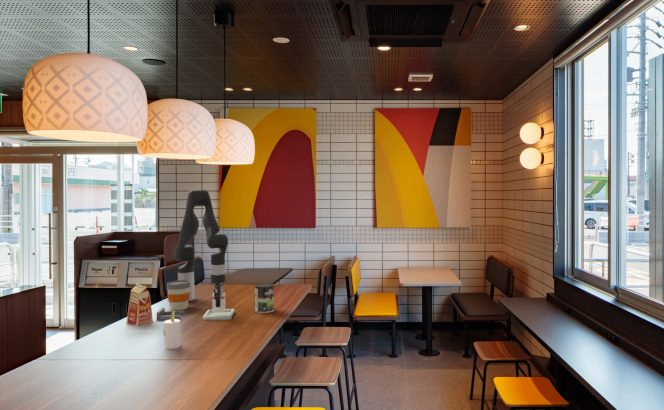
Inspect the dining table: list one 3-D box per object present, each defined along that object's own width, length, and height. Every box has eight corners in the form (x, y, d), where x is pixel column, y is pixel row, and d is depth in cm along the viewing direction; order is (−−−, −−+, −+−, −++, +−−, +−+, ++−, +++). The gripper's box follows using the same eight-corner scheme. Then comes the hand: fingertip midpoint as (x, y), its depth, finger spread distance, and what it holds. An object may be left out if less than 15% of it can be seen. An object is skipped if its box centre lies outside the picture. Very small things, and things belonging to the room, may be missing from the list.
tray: (207, 313, 229) (207, 309, 229) (234, 312, 230) (234, 308, 230) (202, 321, 215) (202, 317, 215) (230, 319, 216) (230, 315, 216)
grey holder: (161, 316, 225) (161, 307, 225) (187, 315, 226) (186, 306, 226) (155, 322, 214) (154, 312, 214) (181, 321, 215) (181, 311, 215)
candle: (164, 344, 180) (163, 309, 180) (180, 342, 182) (179, 307, 182) (163, 349, 174) (163, 313, 174) (180, 347, 177) (180, 311, 176)
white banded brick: (213, 310, 224) (213, 292, 224) (225, 309, 225) (225, 292, 224) (212, 312, 220) (211, 294, 220) (224, 311, 220) (224, 294, 220)
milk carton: (126, 325, 210) (125, 284, 209) (142, 320, 218) (141, 281, 218) (138, 327, 206) (137, 285, 205) (154, 322, 214) (153, 282, 213)
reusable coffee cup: (194, 306, 244) (194, 280, 244) (185, 312, 232) (184, 284, 232) (173, 306, 246) (173, 280, 245) (162, 311, 233) (162, 284, 233)
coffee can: (278, 310, 233) (277, 284, 233) (264, 314, 225) (263, 287, 225) (265, 307, 240) (264, 282, 239) (251, 311, 231) (250, 285, 231)
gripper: (213, 270, 229) (213, 302, 229) (208, 275, 214) (208, 309, 215) (227, 270, 229) (228, 302, 230) (223, 275, 215) (224, 309, 215)
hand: (218, 305), depth 222 cm, fingers closed on white banded brick, 4 cm apart
